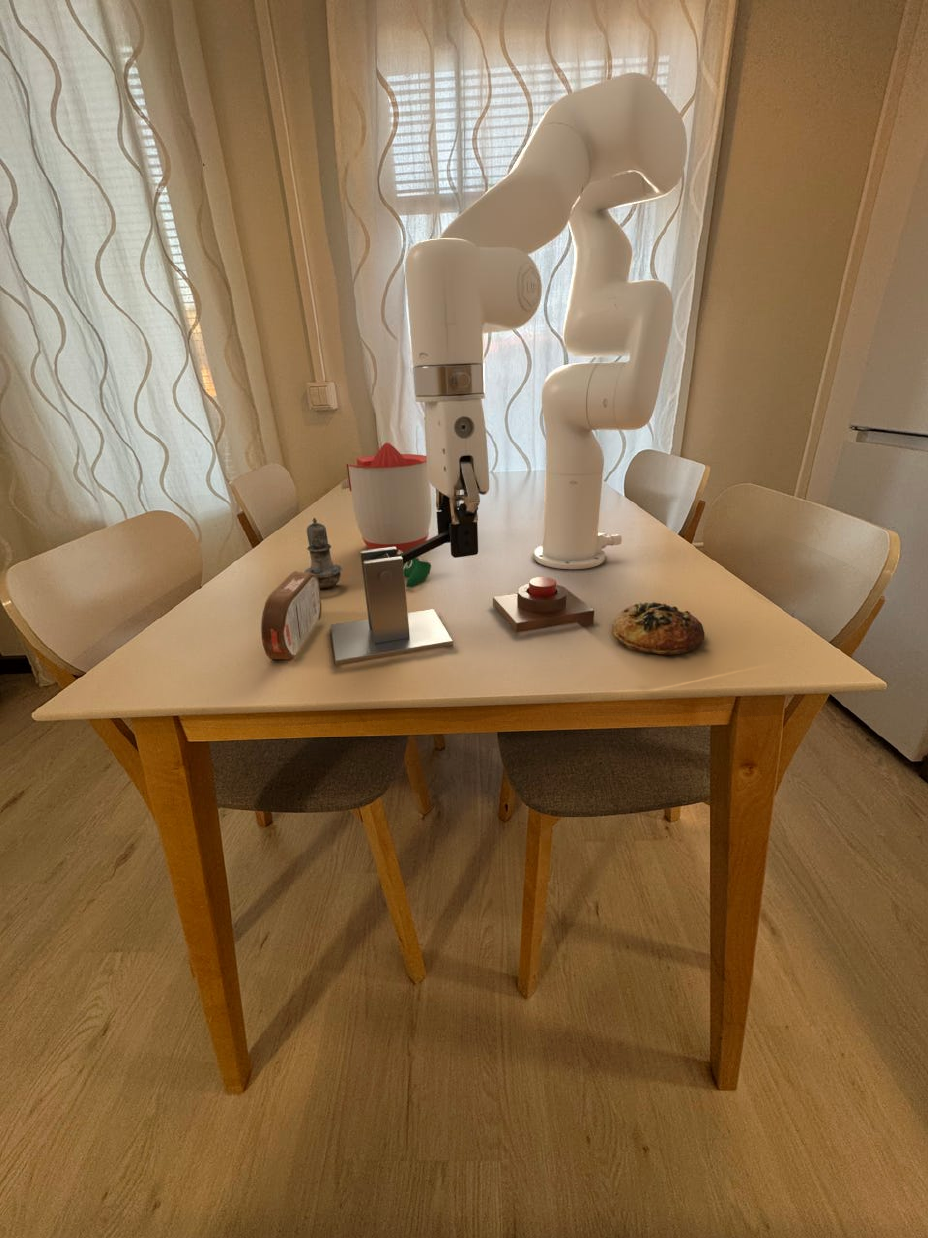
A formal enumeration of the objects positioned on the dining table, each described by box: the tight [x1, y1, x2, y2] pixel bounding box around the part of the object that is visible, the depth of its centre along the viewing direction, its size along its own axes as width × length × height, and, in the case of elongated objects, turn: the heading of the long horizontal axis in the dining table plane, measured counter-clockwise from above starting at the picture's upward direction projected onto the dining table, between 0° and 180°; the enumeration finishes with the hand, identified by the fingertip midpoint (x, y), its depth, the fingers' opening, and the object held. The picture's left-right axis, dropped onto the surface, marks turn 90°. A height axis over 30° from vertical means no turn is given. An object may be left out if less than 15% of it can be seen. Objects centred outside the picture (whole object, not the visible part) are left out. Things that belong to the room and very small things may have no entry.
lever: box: [373, 521, 452, 564], centre depth 60 cm, size 12×5×2 cm, turn 107°
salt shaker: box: [303, 517, 343, 590], centre depth 78 cm, size 6×6×12 cm
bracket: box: [330, 547, 454, 666], centre depth 61 cm, size 14×10×12 cm
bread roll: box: [612, 601, 706, 656], centre depth 62 cm, size 11×11×5 cm
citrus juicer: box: [341, 442, 433, 554], centre depth 97 cm, size 16×17×20 cm
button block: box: [492, 583, 595, 633], centre depth 68 cm, size 11×9×4 cm
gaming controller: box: [397, 550, 432, 588], centre depth 83 cm, size 9×4×6 cm
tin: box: [260, 570, 322, 661], centre depth 63 cm, size 15×3×8 cm, turn 178°
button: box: [528, 576, 557, 597], centre depth 67 cm, size 4×4×2 cm
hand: (457, 546), depth 61 cm, fingers closed on lever, 5 cm apart
